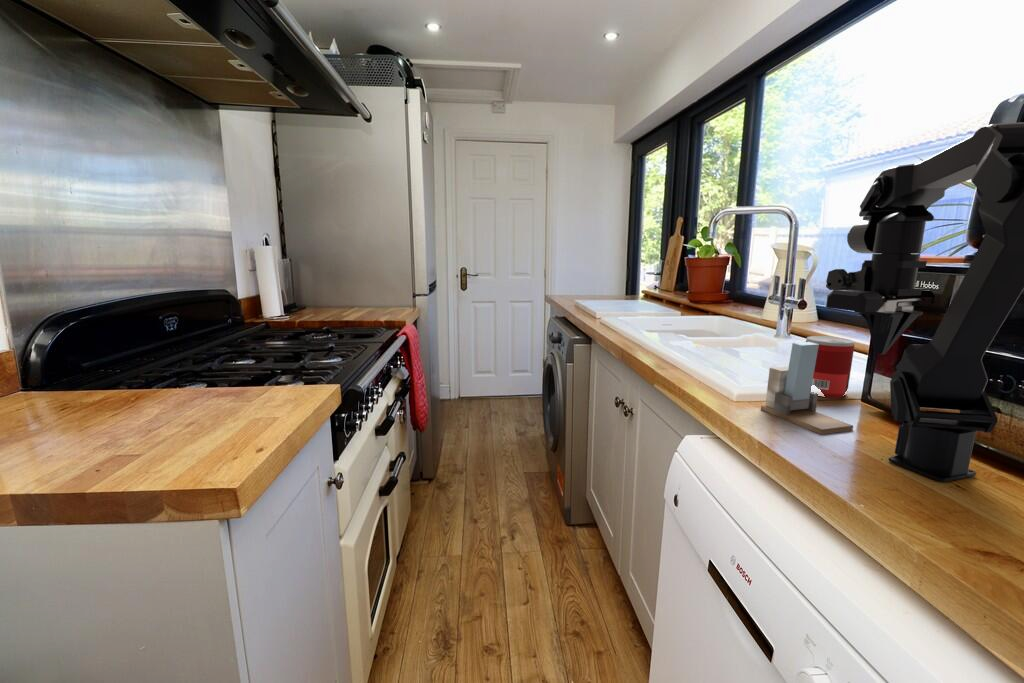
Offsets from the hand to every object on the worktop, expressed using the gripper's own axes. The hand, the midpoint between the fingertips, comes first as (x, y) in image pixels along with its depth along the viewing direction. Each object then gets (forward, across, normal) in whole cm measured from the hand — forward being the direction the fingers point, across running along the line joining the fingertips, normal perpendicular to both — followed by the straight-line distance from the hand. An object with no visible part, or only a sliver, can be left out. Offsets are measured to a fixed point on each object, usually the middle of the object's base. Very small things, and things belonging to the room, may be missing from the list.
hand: (879, 353), depth 74 cm
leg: (+10, +8, -7) cm, 14 cm away
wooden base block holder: (+12, +8, -5) cm, 15 cm away
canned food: (+12, -9, -16) cm, 22 cm away
